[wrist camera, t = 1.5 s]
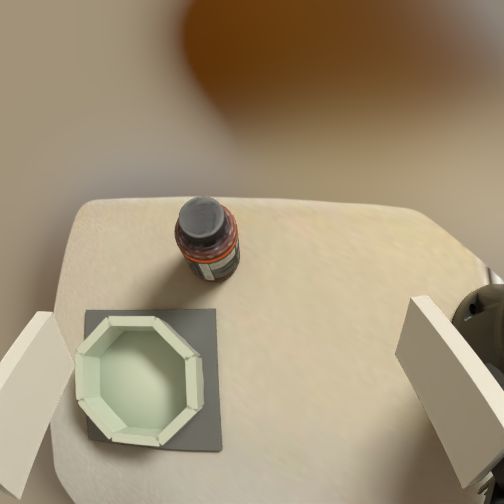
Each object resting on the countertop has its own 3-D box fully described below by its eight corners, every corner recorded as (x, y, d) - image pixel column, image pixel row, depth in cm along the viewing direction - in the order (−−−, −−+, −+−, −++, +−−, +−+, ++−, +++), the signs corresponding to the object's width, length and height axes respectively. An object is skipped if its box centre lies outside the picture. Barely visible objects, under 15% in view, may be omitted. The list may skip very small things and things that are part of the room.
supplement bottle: (183, 245, 38) (159, 198, 28) (229, 228, 39) (222, 176, 28) (199, 291, 36) (177, 258, 26) (247, 272, 37) (246, 232, 26)
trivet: (215, 309, 36) (215, 308, 35) (222, 449, 30) (222, 450, 29) (88, 310, 35) (86, 309, 35) (90, 438, 30) (88, 439, 29)
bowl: (202, 322, 34) (194, 315, 30) (207, 438, 30) (200, 448, 25) (95, 322, 34) (76, 315, 30) (98, 429, 30) (78, 435, 25)
